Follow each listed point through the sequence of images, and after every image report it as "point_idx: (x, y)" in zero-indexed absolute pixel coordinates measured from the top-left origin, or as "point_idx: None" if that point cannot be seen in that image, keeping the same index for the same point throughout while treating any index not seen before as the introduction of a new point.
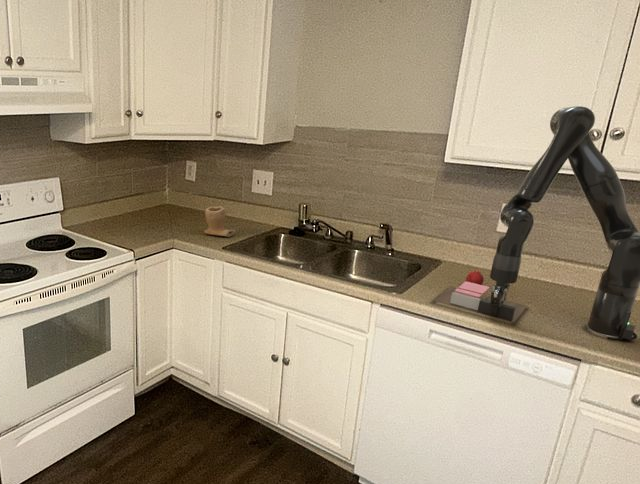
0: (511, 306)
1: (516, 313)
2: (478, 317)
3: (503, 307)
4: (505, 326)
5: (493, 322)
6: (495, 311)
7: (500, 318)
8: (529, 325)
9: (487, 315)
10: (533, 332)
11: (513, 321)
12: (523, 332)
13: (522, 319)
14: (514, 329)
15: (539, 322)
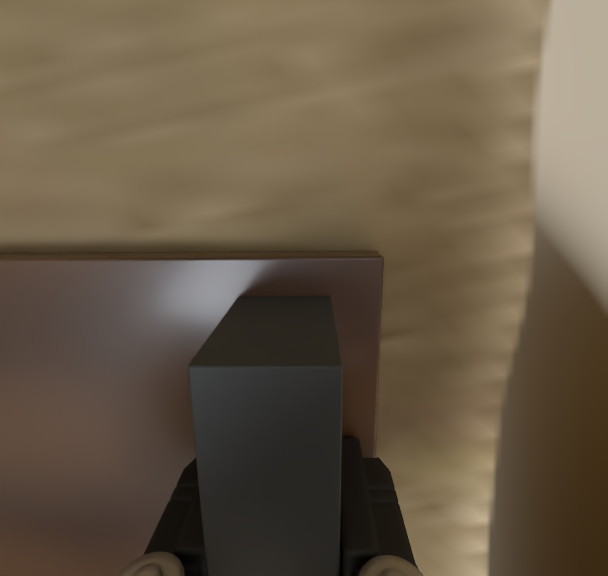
0: (204, 429)
1: (31, 300)
2: None
3: (337, 509)
4: (473, 305)
5: (441, 417)
6: (397, 516)
7: (362, 398)
8: (225, 101)
9: None
10: (440, 2)
11: (347, 267)
12: (529, 105)
13: (92, 211)
14: (500, 210)
15: (8, 22)
